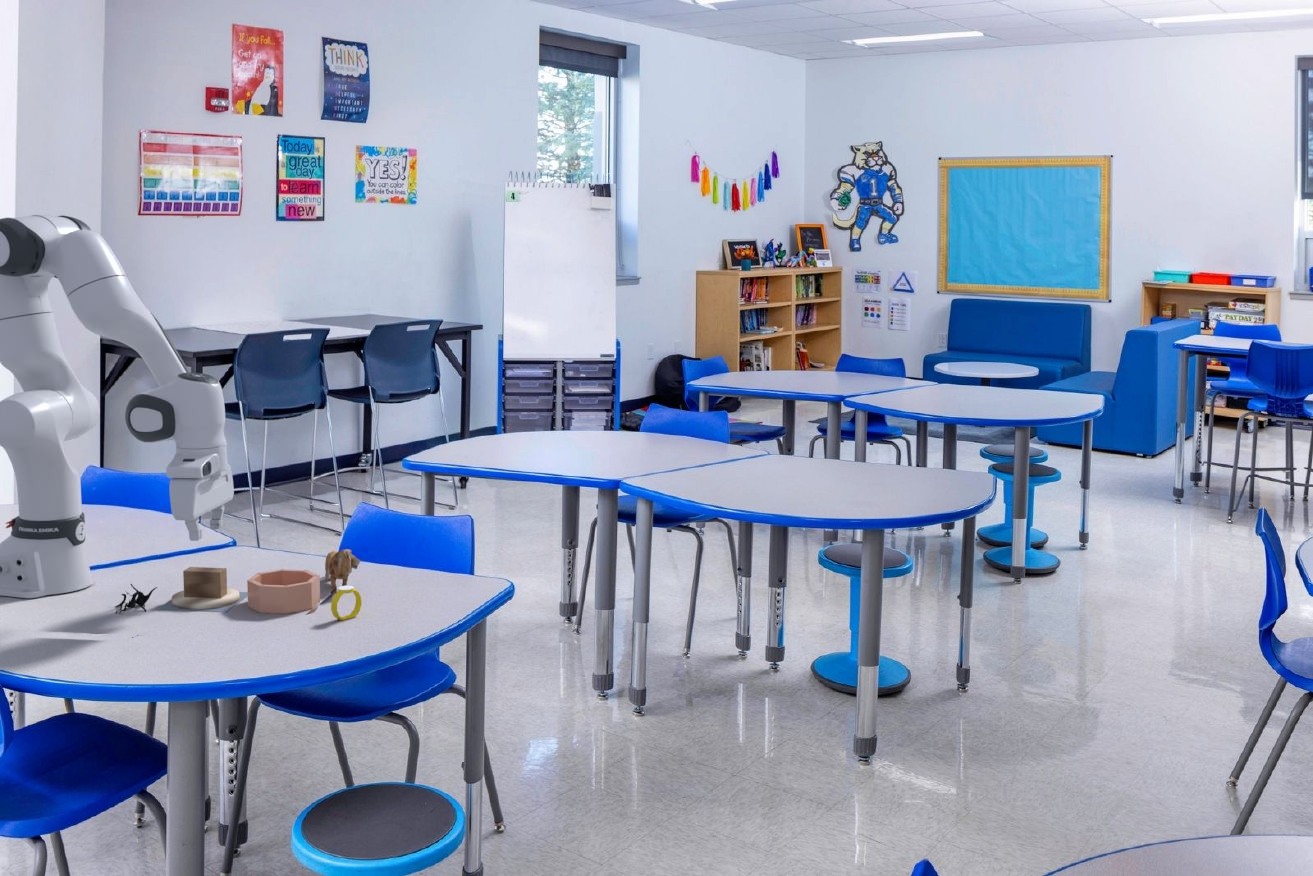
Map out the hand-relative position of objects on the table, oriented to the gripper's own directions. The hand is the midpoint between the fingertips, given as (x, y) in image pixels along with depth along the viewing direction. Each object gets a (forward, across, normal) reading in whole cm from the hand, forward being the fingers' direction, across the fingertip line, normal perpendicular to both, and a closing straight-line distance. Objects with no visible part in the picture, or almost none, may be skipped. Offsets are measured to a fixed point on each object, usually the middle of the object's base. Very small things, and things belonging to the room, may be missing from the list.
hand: (206, 534), depth 231 cm
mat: (+14, 0, -1) cm, 14 cm away
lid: (+13, 0, -1) cm, 13 cm away
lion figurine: (+15, -16, +20) cm, 29 cm away
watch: (+15, +4, +27) cm, 31 cm away
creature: (+14, +7, -12) cm, 19 cm away
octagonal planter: (+14, 0, +14) cm, 20 cm away
